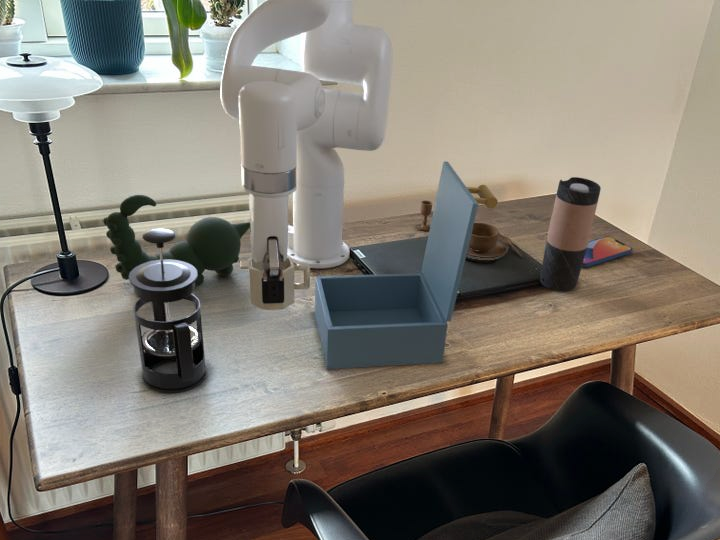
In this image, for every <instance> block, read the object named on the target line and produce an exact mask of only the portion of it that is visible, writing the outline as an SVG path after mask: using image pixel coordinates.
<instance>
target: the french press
mask: <svg viewBox="0 0 720 540" xmlns="http://www.w3.org/2000/svg"><path fill="white" fill-rule="evenodd" d="M176 235H177V234H176V233H175V232H174V231H173V230H171V229H169V228H152V229H149V230H147V231H145V232H144V233H143V234H142V236H141V237H142V239H143V240H144V241H145V242H147V243H149V244H155V245H156V248H157V249H158V250H159V252H158V253H160V260H154V261H150V262H146V263H143V264H141V265H139V266H137V267H135V268H134V269H133V270H132V271H131V272H130V274H129V279H128V281H129V283H130V285H131V286H132V287H133V292H134V294H135V295H136V296H137V297H138V299H136V301H135V302H134V304H133V316H134V322H135V328H136V329H135V330H136V335H137V343H138V350H139V357H140V362H141V363H140V364H141V369H142V371H141V380H142V382H143V384H144V385H145V387H147V389H150V390H152V391H154V392H158V393H162V394H180V393H184V392H188V391H191V390H193V389H195V388H197V387H199V386H200V385H201V384H202V383H204V381H205V380H206V379H207V377H208V366H207V365H206V356H205V345H204V334H203V324H202V323H203V322H202V309H201V301H200V299H199V298H198V296H196V295H195V294H194V292H195V290H196V286H195V281H196V279H197V276H198V274H197V270H196V268H195V267H194V266H192V265H191V264H189V263H186V262H183V261H179V260H170V259H164V260H163V254H162V252H163V248H164V247H165V243H169V242H172V241H173V240H175V238H176V237H177V236H176ZM182 300H186V301H188V302H191V303H192V304H194V312H192V313H191V314H189V315H188V316H185V317H182V318H180V319H175V320H171V315H170V306H169V304H170V303H175V302H179V301H182ZM148 303H151V307H152V314H153V320H151V319H147V318H145V317H143V316H141V315H140V314H138V311H139V310H140V308H142V307H143V306H144V305H146V304H148ZM195 322H196V327H194V326H192V324H193V323H195ZM141 326H142V327H143V328H146V329H147V330H145V332H144V333H143V334H142V327H141ZM169 361H176V362H175V363H176V370H177V372H171V373H170V372H167V373H166V372H160V371H156V370H154V369H155V368H156V367H158V366H159V365H160V364H162V363H166V362H169Z"/></svg>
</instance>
